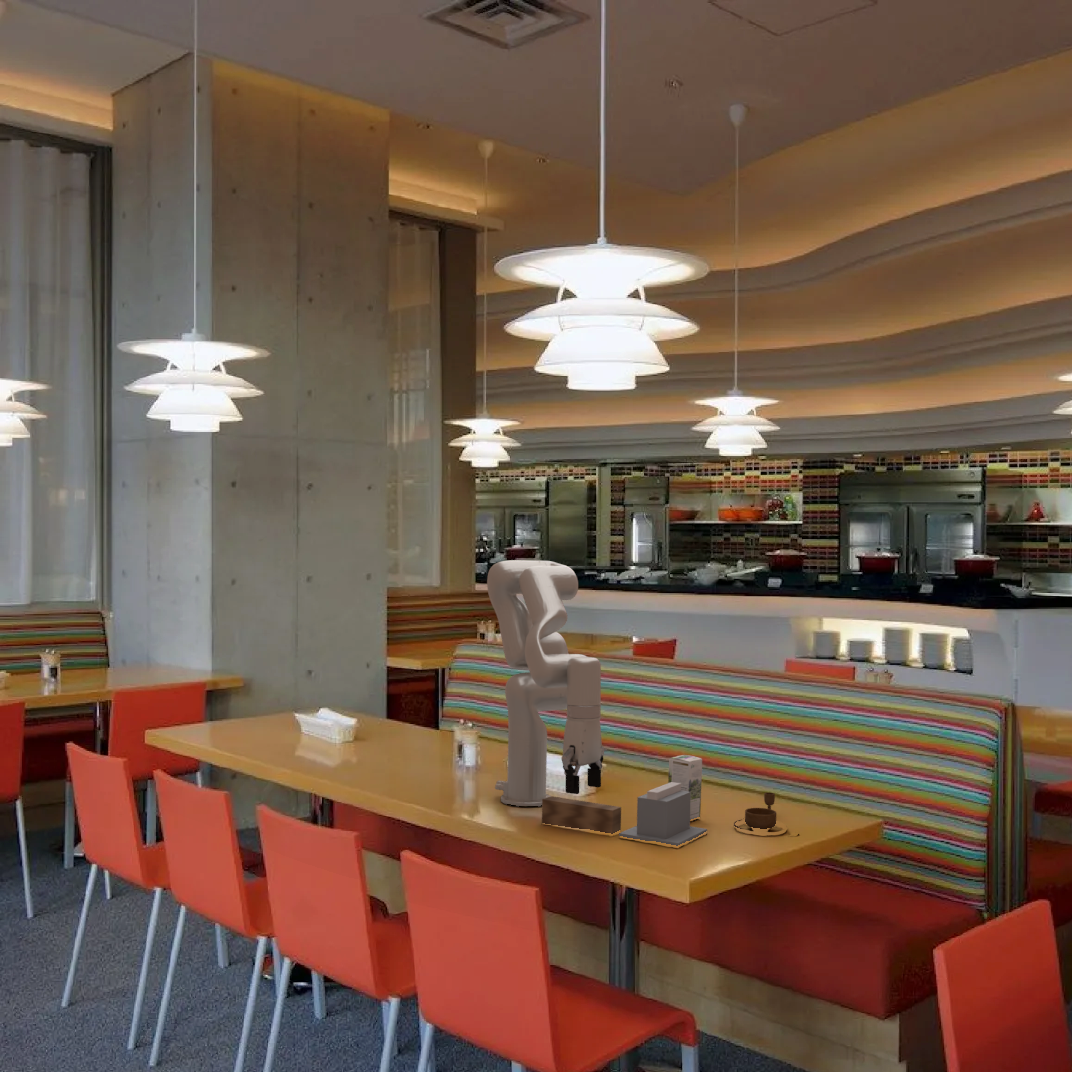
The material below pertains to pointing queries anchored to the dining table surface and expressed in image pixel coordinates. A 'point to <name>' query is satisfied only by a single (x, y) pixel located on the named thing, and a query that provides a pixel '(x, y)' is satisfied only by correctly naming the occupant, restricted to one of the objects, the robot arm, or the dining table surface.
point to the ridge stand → (664, 816)
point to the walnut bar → (581, 814)
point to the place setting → (761, 814)
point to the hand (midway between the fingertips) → (583, 789)
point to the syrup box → (688, 779)
